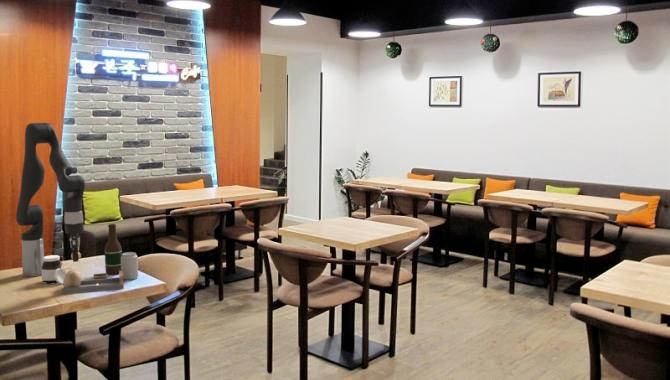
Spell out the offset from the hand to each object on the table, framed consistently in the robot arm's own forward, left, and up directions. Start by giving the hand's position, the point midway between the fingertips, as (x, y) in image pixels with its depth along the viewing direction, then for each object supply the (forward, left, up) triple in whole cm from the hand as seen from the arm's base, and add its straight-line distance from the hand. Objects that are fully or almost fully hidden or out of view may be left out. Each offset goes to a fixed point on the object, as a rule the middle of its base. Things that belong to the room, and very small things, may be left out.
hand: (76, 260), depth 273 cm
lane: (+6, 0, -13) cm, 14 cm away
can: (+22, +11, -13) cm, 28 cm away
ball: (0, 0, +2) cm, 2 cm away
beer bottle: (+15, +23, -13) cm, 31 cm away
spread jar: (-10, +15, -13) cm, 22 cm away
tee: (+9, +10, -13) cm, 19 cm away
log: (-2, 0, -13) cm, 13 cm away
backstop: (+18, 0, -13) cm, 22 cm away
